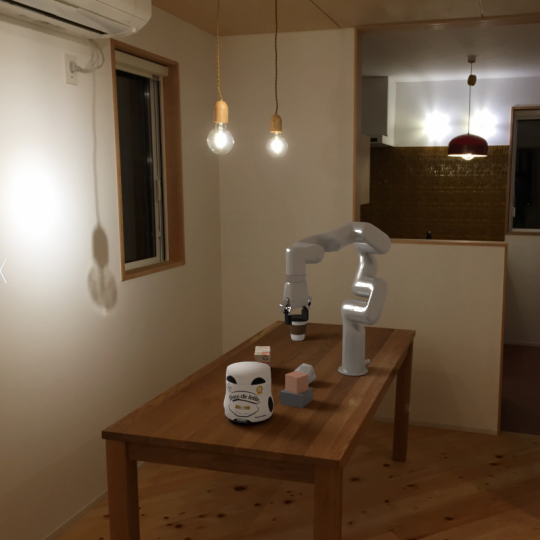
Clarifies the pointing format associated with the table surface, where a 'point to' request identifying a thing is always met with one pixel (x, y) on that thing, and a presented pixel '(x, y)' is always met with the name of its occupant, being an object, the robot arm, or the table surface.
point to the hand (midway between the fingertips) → (296, 322)
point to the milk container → (248, 392)
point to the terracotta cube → (296, 382)
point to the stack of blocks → (262, 354)
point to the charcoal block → (296, 398)
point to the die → (307, 371)
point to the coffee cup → (298, 327)
